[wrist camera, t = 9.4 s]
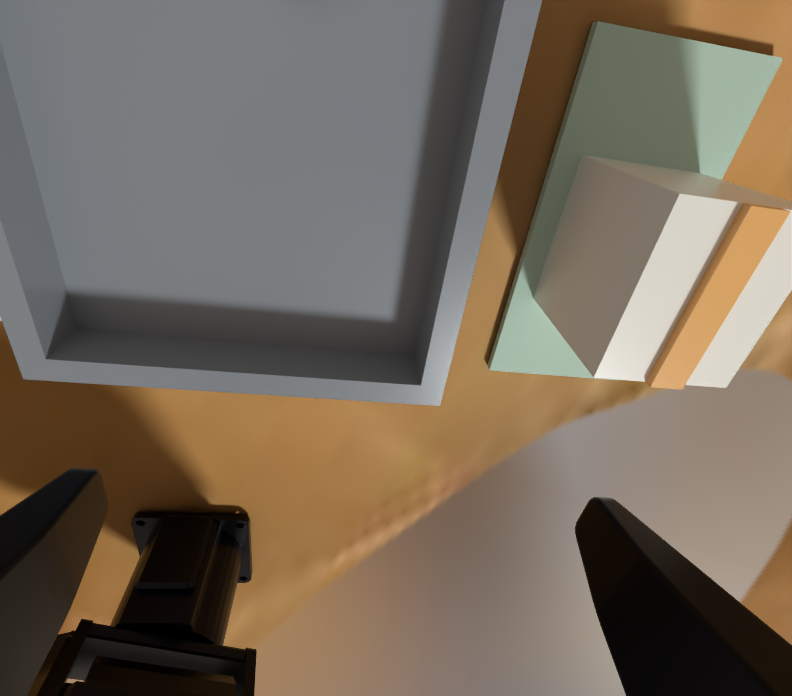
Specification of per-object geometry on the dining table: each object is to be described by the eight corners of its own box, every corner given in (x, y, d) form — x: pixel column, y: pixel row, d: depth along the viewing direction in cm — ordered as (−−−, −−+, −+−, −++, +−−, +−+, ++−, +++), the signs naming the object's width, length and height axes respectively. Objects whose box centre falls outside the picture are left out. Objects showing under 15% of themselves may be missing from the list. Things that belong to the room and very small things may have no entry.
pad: (616, 375, 23) (620, 380, 23) (487, 365, 22) (489, 370, 22) (774, 58, 16) (783, 58, 16) (593, 21, 15) (598, 21, 15)
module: (634, 308, 21) (732, 393, 15) (533, 298, 20) (597, 382, 15) (700, 173, 17) (850, 220, 12) (581, 154, 17) (686, 196, 11)
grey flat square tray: (428, 361, 22) (439, 405, 19) (56, 331, 19) (5, 378, 17) (546, -175, 12) (604, -246, 9) (-147, -357, 10) (-349, -527, 7)
